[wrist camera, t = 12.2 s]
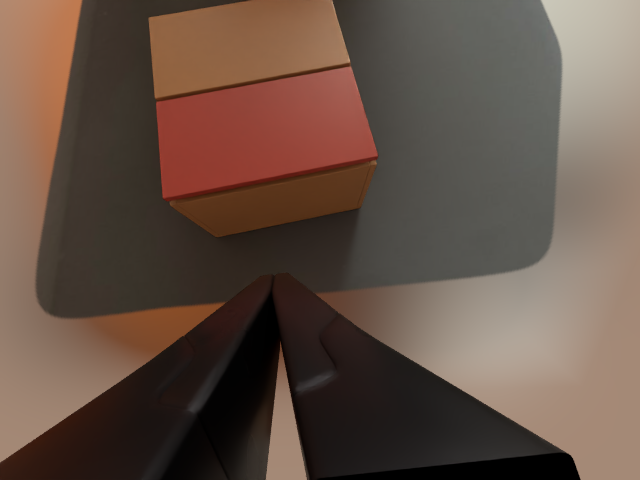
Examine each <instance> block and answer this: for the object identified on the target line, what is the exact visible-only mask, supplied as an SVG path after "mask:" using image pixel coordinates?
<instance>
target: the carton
mask: <svg viewBox="0 0 640 480" xmlns="http://www.w3.org/2000/svg"><path fill="white" fill-rule="evenodd" d="M149 28H150V41H151V54H152V67H153V80H154V92H155V99H156V100H157V102H159V101H165V100H170V99H176V98H181V97H186V96H192V95H197V94H203V93H208V92H214V91H219V90H225V89H230V88H236V87H241V86H246V85H252V84H257V83H263V82H268V81H274V80H279V79H285V78H290V77H296V76H301V75H307V74H312V73H317V72H323V71H328V70H334V69H339V68H345V67H350V59H349V56H348V53H347V49H346V46H345V42H344V39H343V36H342V32H341V29H340V26H339V22H338V19H337V16H336V12H335V9H334V5H333V2H332V0H250V1H244V2H238V3H232V4H227V5H221V6H215V7H209V8H203V9H197V10H191V11H185V12H180V13H174V14H168V15H162V16H156V17H150V18H149ZM376 165H377V164H376V160H373V161H368V162H363V163H358V164H353V165H348V166H343V167H338V168H333V169H328V170H323V171H318V172H313V173H308V174H303V175H298V176H293V177H288V178H283V179H278V180H272V181H267V182H262V183H257V184H252V185H247V186H242V187H237V188H232V189H227V190H222V191H217V192H212V193H207V194H202V195H197V196H192V197H187V198H182V199H177V200H172V201H170V206H171V207H173V208H174V209H176V210H177V211H178V212H180V213H181V214H183V215H184V216H186V217H187V218H189V219H190V220H192V221H193V222H195V223H196V224H197V225H199V226H200V227H202V228H203V229H205V230H206V231H208V232H209V233H211V234H212V235H214V236H215V237H221V236H226V235H231V234H236V233H241V232H246V231H251V230H255V229H260V228H265V227H270V226H275V225H280V224H285V223H289V222H294V221H299V220H304V219H309V218H314V217H319V216H323V215H328V214H333V213H338V212H343V211H348V210H353V209H357V208H361V206H362V203H363V200H364V197H365V195H366V192H367V189H368V187H369V184H370V181H371V179H372V176H373V173H374V171H375V168H376Z"/></svg>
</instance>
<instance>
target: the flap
mask: <svg viewBox="0 0 640 480" xmlns="http://www.w3.org/2000/svg"><path fill="white" fill-rule="evenodd" d="M156 108H157V122H158V137H159V151H160V165H161V180H162V194H163V199H164V200H165V201H172V200H177V199H182V198H187V197H192V196H197V195H202V194H207V193H212V192H217V191H222V190H227V189H232V188H237V187H242V186H247V185H252V184H257V183H262V182H267V181H272V180H278V179H283V178H288V177H293V176H298V175H303V174H308V173H313V172H318V171H323V170H328V169H333V168H338V167H343V166H348V165H353V164H358V163H363V162H368V161H373V160H377V158H378V154H377V150H376V147H375V144H374V140H373V137H372V134H371V131H370V127H369V124H368V121H367V117H366V114H365V111H364V107H363V104H362V101H361V98H360V94H359V91H358V88H357V84H356V81H355V78H354V74H353V71H352V68H351V66H350V67H345V68H339V69H334V70H328V71H323V72H317V73H312V74H307V75H301V76H296V77H290V78H285V79H279V80H274V81H268V82H263V83H257V84H252V85H246V86H241V87H236V88H230V89H225V90H219V91H214V92H208V93H203V94H197V95H192V96H186V97H181V98H176V99H170V100H165V101H159V102H156Z"/></svg>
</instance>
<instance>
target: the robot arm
mask: <svg viewBox="0 0 640 480" xmlns="http://www.w3.org/2000/svg"><path fill="white" fill-rule="evenodd" d="M280 341H281V346H282V352H283V357H284V362H285V367H286V372H287V378H288V383H289V388H290V393H291V398H292V403H293V409H294V414H295V419H296V424H297V430H298V435H299V440H300V445H301V450H302V456H303V461H304V466H305V471H306V477H307V480H580V477H579V474H578V471H577V468H576V465H575V463H574V460H573V458H572V457H571V455H569V454H567V453H566V452H564V451H563V450H561V449H559V448H558V447H556V446H554V445H552V444H551V443H549V442H548V441H546V440H544V439H542V438H541V437H539V436H538V435H536V434H534V433H533V432H531V431H529V430H527V429H526V428H524V427H522V426H521V425H519V424H517V423H516V422H514V421H512V420H511V419H509V418H507V417H506V416H504V415H502V414H501V413H499V412H497V411H496V410H494V409H492V408H491V407H489V406H487V405H486V404H484V403H482V402H481V401H479V400H477V399H476V398H474V397H472V396H471V395H469V394H467V393H466V392H464V391H462V390H460V389H459V388H457V387H456V386H454V385H452V384H450V383H449V382H447V381H445V380H444V379H442V378H440V377H439V376H437V375H435V374H434V373H432V372H430V371H429V370H427V369H425V368H424V367H422V366H420V365H419V364H417V363H415V362H414V361H412V360H410V359H409V358H407V357H405V356H404V355H402V354H400V353H399V352H397V351H395V350H394V349H392V348H390V347H389V346H387V345H385V344H383V343H382V342H380V341H379V340H377V339H375V338H374V337H372V336H371V335H369V334H368V333H366V332H364V331H363V330H361V329H360V328H358V327H357V326H356V325H354V324H353V323H352V322H350V321H349V320H348V319H346V318H345V317H344V316H342V315H341V314H339V313H338V312H337V311H335V310H334V309H333V308H332V307H331V306H329V305H328V304H327V303H326V302H324V301H323V300H322V299H321V298H319V297H318V296H317V295H316V294H314V293H313V292H312V291H311V290H309V289H308V288H307V287H306V286H304V285H303V284H302V283H301V282H299V281H298V280H297V279H296V278H294V277H293V276H292V275H291V274H289V273H287V272H286V273H278V274H275V276H274V275H273V274H270V275H263V276H260V277H259V278H258V279H256V280H255V281H254V282H252V283H251V284H250V285H249V286H247V287H246V288H245V289H243V290H242V291H241V292H240V293H238V294H237V295H236V296H234V297H233V298H232V299H231V300H229V301H228V302H227V303H225V304H224V305H223V306H222V307H220V308H219V309H218V310H216V311H215V312H214V313H213V314H211V315H210V316H209V317H207V318H206V319H205V320H204V321H202V322H201V323H200V324H198V325H197V326H196V327H194V328H193V329H192V330H191V331H190V332H188V333H187V334H186V335H185V337H184V336H182V337H181V338H179V340H177V341H176V342H174V343H173V344H172V345H170V346H169V347H168V348H166V349H165V350H164V351H162V352H161V353H160V354H158V355H157V356H156V357H154V358H153V359H152V360H150V361H149V362H148V363H146V364H145V365H143V366H142V367H140V368H139V369H137V370H136V371H135V372H133V373H132V374H130V375H129V376H127V377H126V378H124V379H123V380H122V381H120V382H119V383H117V384H116V385H114V386H113V387H111V388H110V389H108V390H107V391H105V392H104V393H102V394H101V395H99V396H98V397H96V398H95V399H94V400H92V401H91V402H89V403H88V404H86V405H85V406H83V407H82V408H80V409H79V410H77V411H76V412H74V413H73V414H71V415H70V416H68V417H67V418H66V419H64V420H62V421H61V422H59V423H58V424H57V425H55V426H54V427H52V428H51V429H49V430H48V431H46V432H45V433H43V434H42V435H40V436H39V437H37V438H36V439H34V440H33V441H32V442H30V443H28V444H27V445H26V446H24V447H23V448H21V449H20V450H18V451H17V452H15V453H14V454H12V455H11V456H9V457H8V458H6V459H5V460H3V461H2V462H0V480H265V479H266V471H267V462H268V453H269V444H270V435H271V425H272V416H273V407H274V398H275V389H276V379H277V370H278V360H279V352H280Z"/></svg>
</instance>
